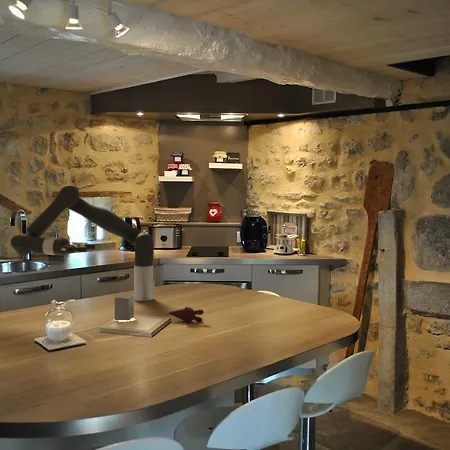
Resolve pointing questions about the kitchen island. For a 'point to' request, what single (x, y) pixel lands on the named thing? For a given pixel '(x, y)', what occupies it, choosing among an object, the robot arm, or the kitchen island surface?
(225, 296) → the kitchen island surface
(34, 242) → the robot arm
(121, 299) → the grey block
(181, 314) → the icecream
